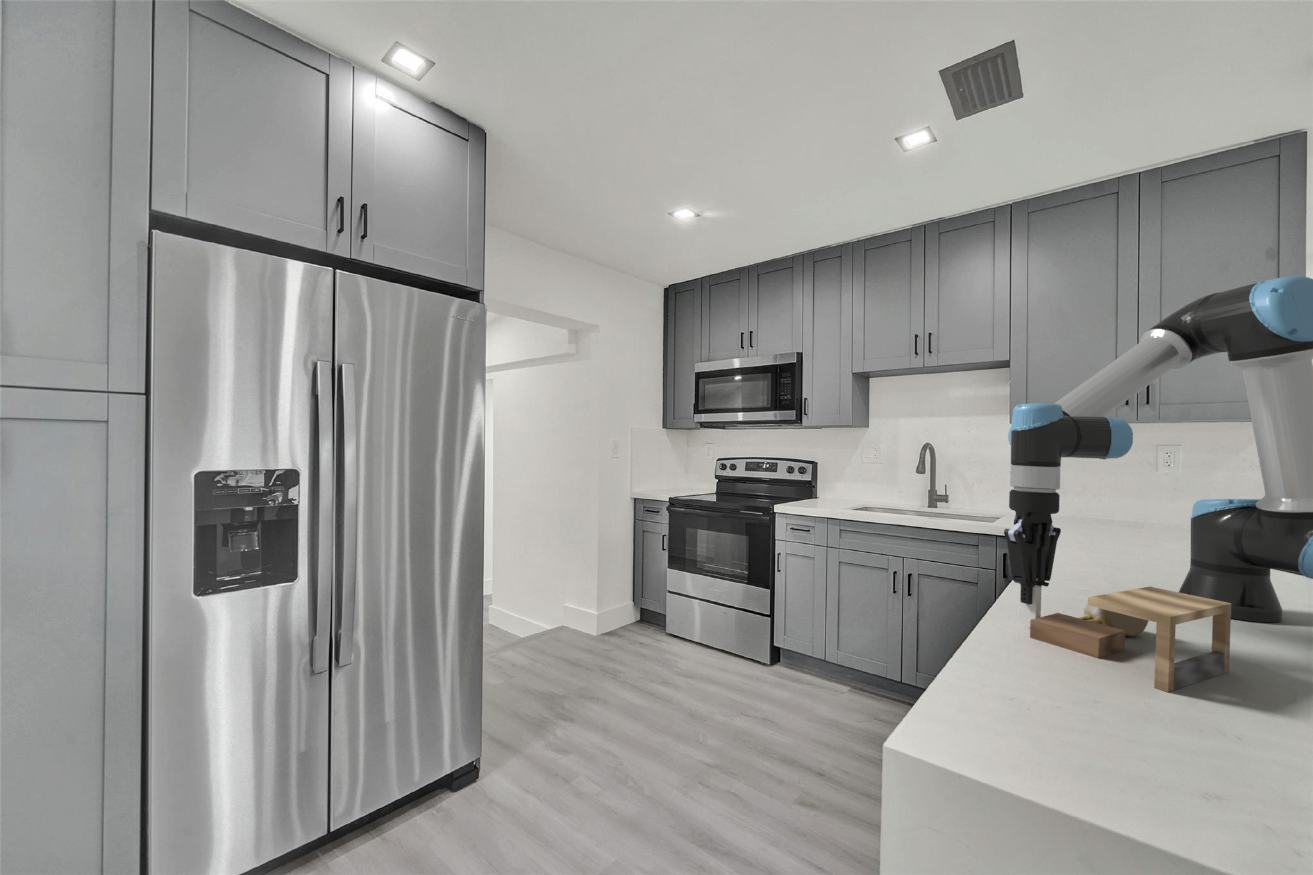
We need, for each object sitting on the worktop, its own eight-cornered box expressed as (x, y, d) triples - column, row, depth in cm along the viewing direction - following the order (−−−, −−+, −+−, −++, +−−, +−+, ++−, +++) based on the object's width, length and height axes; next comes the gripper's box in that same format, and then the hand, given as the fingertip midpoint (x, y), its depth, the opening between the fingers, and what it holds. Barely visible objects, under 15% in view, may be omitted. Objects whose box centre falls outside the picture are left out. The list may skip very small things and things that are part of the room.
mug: (1103, 621, 109) (1135, 582, 105) (1129, 660, 101) (1165, 620, 96) (1064, 609, 110) (1093, 570, 105) (1086, 647, 102) (1119, 607, 97)
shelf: (1147, 648, 94) (1149, 586, 94) (1229, 671, 85) (1231, 603, 85) (1085, 664, 86) (1087, 597, 86) (1167, 692, 77) (1170, 617, 77)
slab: (1057, 632, 102) (1057, 612, 102) (1124, 651, 94) (1125, 630, 94) (1029, 640, 98) (1030, 619, 98) (1098, 660, 89) (1098, 638, 89)
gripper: (1035, 487, 109) (1031, 611, 109) (990, 488, 103) (986, 618, 103) (1078, 491, 102) (1074, 623, 102) (1033, 492, 96) (1028, 632, 96)
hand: (1030, 621), depth 103 cm, fingers closed
